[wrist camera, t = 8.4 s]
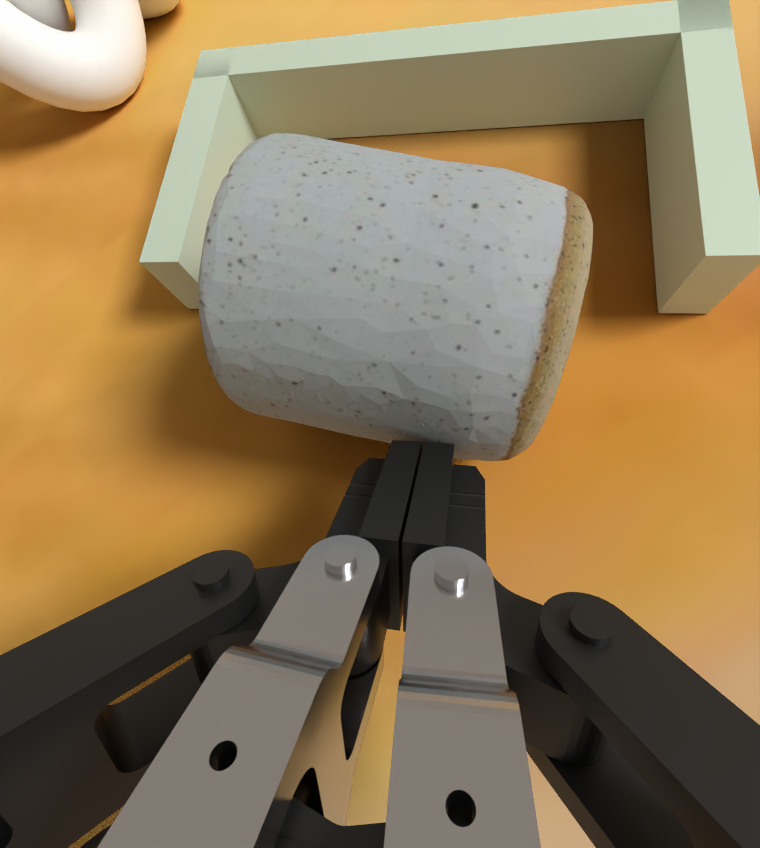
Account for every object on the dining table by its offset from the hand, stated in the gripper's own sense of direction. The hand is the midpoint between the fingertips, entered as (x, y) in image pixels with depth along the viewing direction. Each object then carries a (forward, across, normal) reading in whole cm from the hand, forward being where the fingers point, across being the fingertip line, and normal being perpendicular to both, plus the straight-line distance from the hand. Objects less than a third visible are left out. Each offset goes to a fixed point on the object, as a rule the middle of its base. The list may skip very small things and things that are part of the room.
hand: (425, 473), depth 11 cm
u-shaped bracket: (+11, -1, +6) cm, 12 cm away
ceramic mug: (+7, -1, +2) cm, 7 cm away
